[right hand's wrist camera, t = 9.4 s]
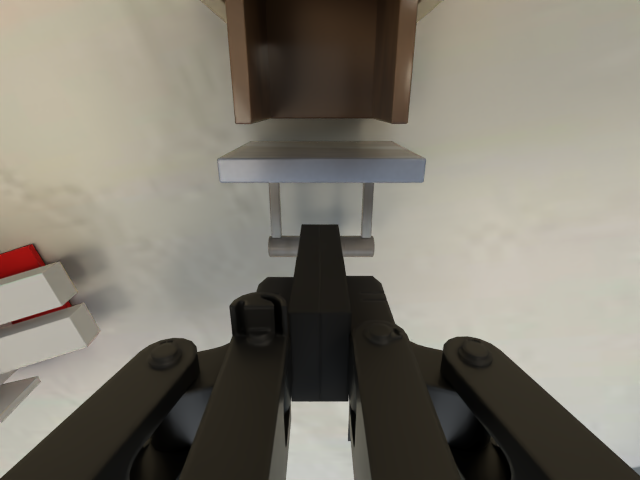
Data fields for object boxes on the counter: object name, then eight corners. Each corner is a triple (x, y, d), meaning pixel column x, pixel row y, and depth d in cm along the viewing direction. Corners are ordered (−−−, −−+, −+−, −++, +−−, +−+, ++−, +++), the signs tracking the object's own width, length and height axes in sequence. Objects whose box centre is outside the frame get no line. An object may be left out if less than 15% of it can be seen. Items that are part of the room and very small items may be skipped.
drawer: (386, 233, 27) (412, 286, 19) (256, 234, 27) (230, 286, 19) (418, -211, 18) (492, -449, 10) (224, -210, 18) (152, -448, 10)
